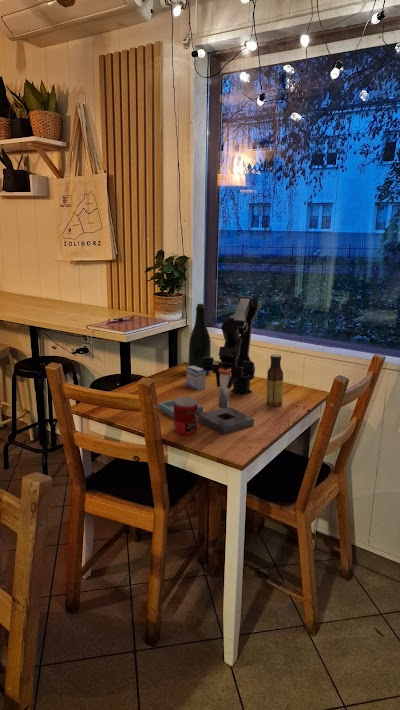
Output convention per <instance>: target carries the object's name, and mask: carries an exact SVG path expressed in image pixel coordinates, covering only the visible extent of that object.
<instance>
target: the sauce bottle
mask: <svg viewBox="0 0 400 710" xmlns="http://www.w3.org/2000/svg"><path fill="white" fill-rule="evenodd" d="M281 360H282V355H281V354H278V353H277V354H276V353H275V354H271V355H270V367H269V369H268V370H267V374H266V375H267V379H266V404H267V405H269V406H271V407H279V406H282V405H283V401H284V400H283V398H284V395H283V394H284V372H283V369H282V367H281V366H282V365H281Z"/></svg>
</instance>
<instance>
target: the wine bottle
mask: <svg viewBox="0 0 400 710" xmlns="http://www.w3.org/2000/svg"><path fill="white" fill-rule="evenodd" d="M196 304H197V305H196V307H195V321H194V322H195V323H194V327H193V330H192V331H191V334H190V336H189V342H188V360H187V363H188V365H187V367H189V366H196V367H199V368H202V365H201V359H202V358H203V357H211V355H212V352H211V351H212V350H211V347H212V345H211V337H210V334H209V330H208V328H207V323H206V321H207V320H206V306H205V303H196ZM202 369H203V368H202ZM210 374H211V371H207V370H206V376H208V375H210Z"/></svg>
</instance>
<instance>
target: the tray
mask: <svg viewBox="0 0 400 710" xmlns="http://www.w3.org/2000/svg"><path fill="white" fill-rule="evenodd" d="M175 399H176V398H175ZM175 399H169V400H166V401H165V400H164V401H161V402H158V403H157V409H158V408H159V410H158V411H160V412H162V413H164V414H165V415H167V416H168V417H171V418H172V419H174V400H175ZM197 406H198V407H197V415H198V414H201V413H204V406H203V405H201V404H200V403H198V405H197Z"/></svg>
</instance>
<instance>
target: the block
mask: <svg viewBox="0 0 400 710" xmlns="http://www.w3.org/2000/svg"><path fill="white" fill-rule="evenodd" d="M197 422H199V423H201V424H203V425H205V426H206V427H207V428H209V429H211V430H214V431H216V432H217V433H219V434H221V435H226V434H229V433H233V432H236V431H240V430H242V429H247V428H250V427H254V425H255V418H253V417H252V416H249V415H248V414H245V413H243V412H241V411H240V410H236V409H235V408H232V407H230V406H229V407H228V408H220V407H219V408H217V409H213V410H210V411H209V410H208V411H205V412H203V413H200V414H197Z"/></svg>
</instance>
